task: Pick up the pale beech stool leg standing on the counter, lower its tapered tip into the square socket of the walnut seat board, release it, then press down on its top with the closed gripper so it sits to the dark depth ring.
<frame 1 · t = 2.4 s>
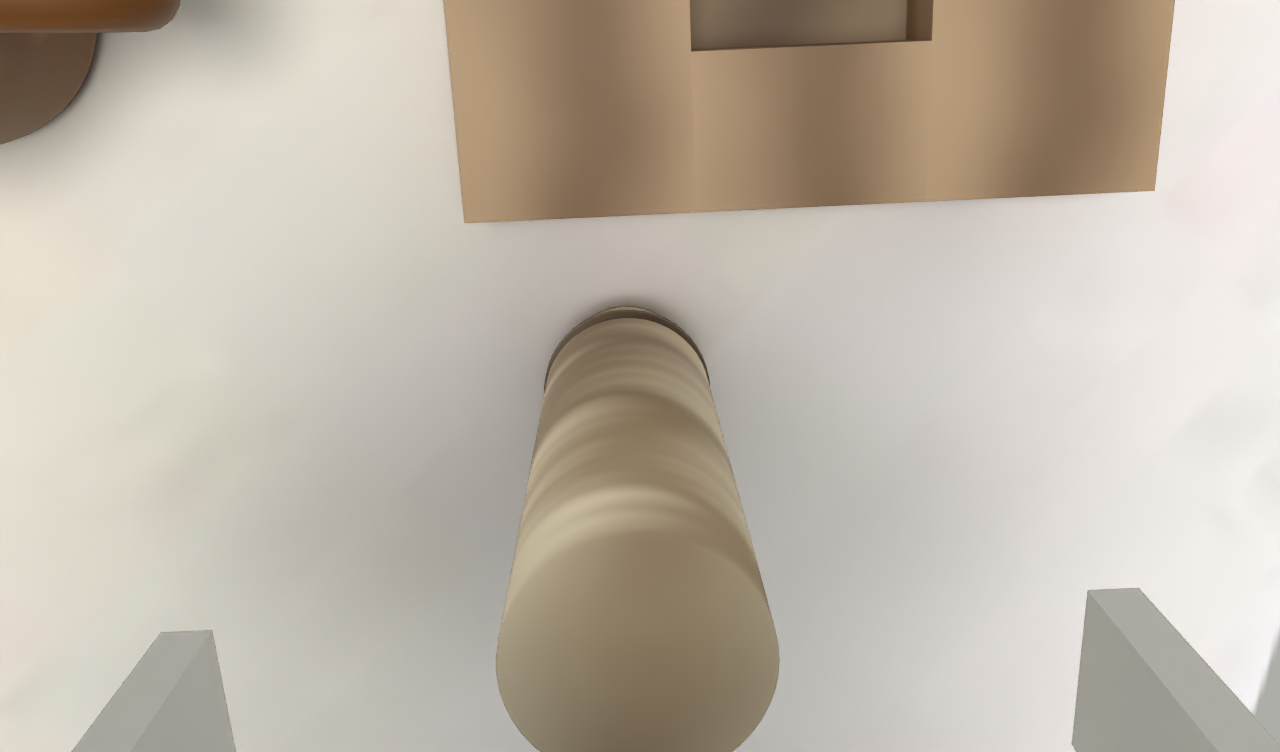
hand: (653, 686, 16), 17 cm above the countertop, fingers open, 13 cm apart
mug: (51, 0, 29), on the countertop
leg: (626, 364, 32), on the countertop
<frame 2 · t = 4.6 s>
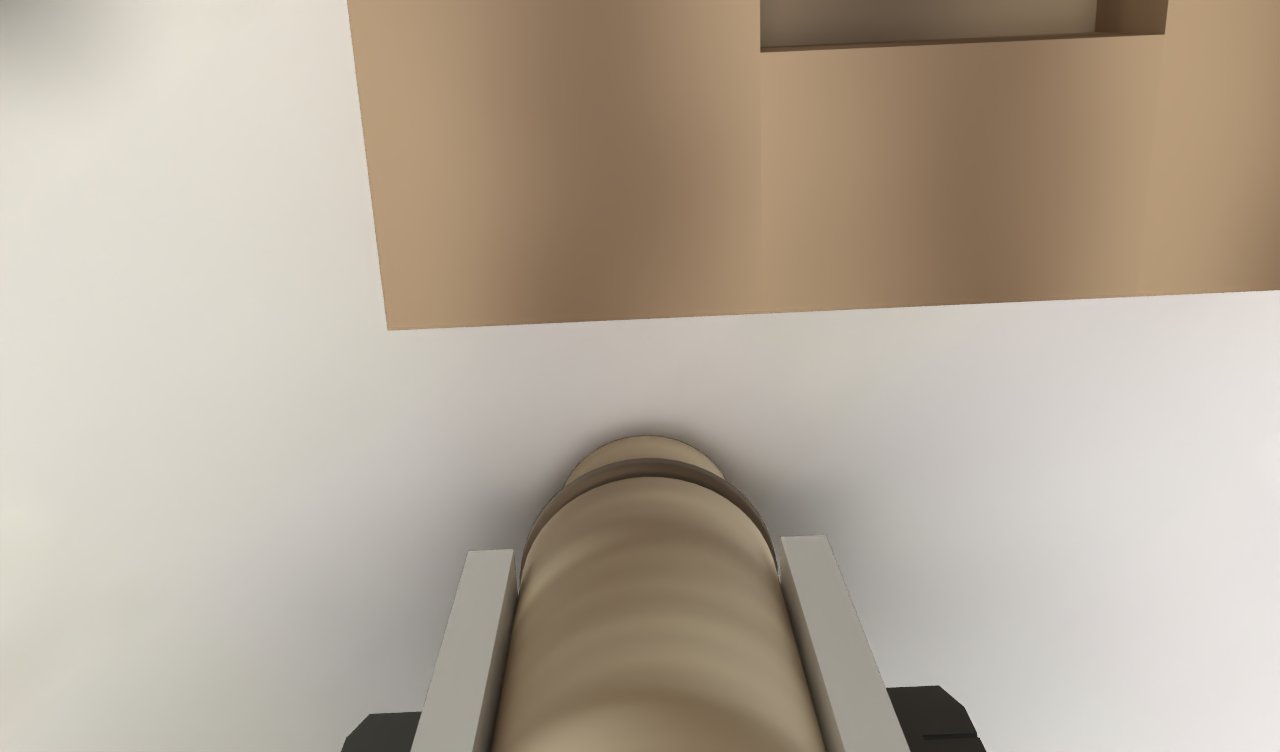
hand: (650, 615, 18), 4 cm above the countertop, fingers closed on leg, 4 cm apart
leg: (646, 518, 22), on the countertop, touching gripper
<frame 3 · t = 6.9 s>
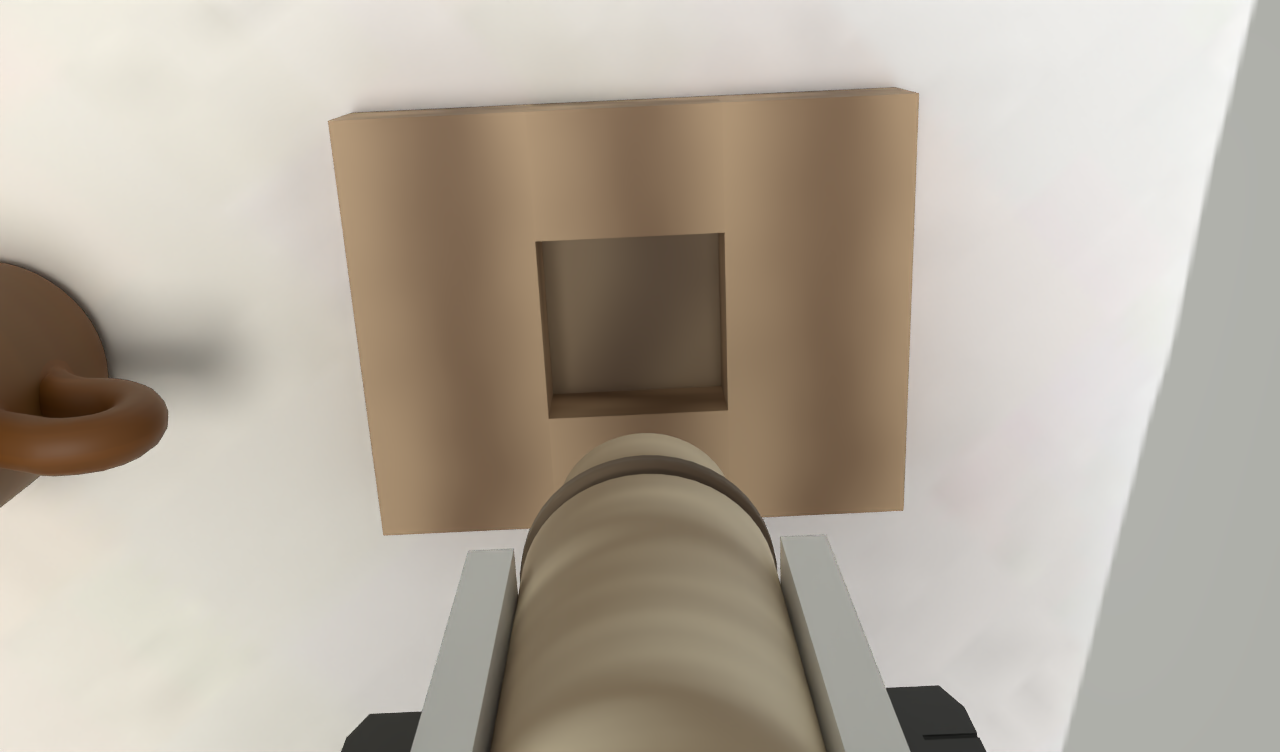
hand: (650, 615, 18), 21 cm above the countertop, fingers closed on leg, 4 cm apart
mug: (73, 356, 38), on the countertop
seat board: (633, 304, 38), on the countertop
leg: (645, 515, 22), point 17 cm above the countertop, touching gripper
when the fingers open (5 cm above the countertop, at t = 9.5 s): leg stays where it is, resting on seat board.
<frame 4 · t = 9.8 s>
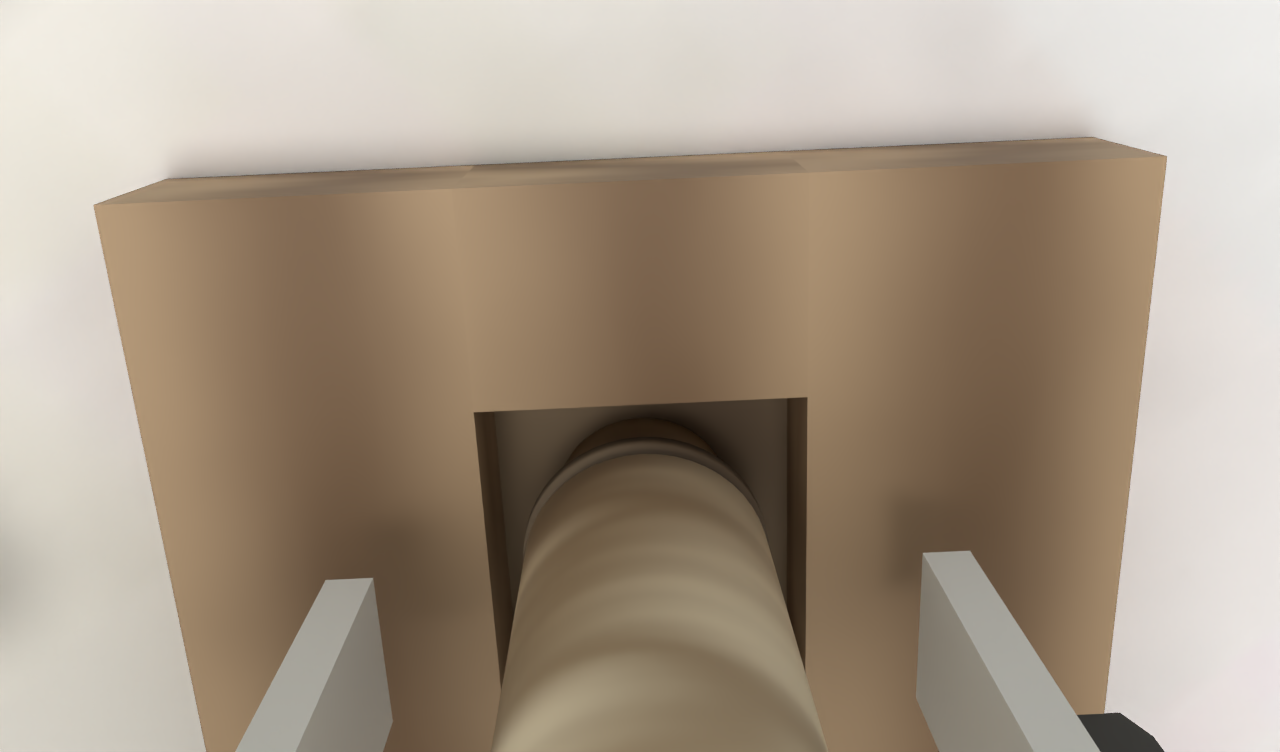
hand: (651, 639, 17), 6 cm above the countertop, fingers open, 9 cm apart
seat board: (644, 487, 23), on the countertop
leg: (643, 498, 22), point 1 cm above the countertop, touching seat board
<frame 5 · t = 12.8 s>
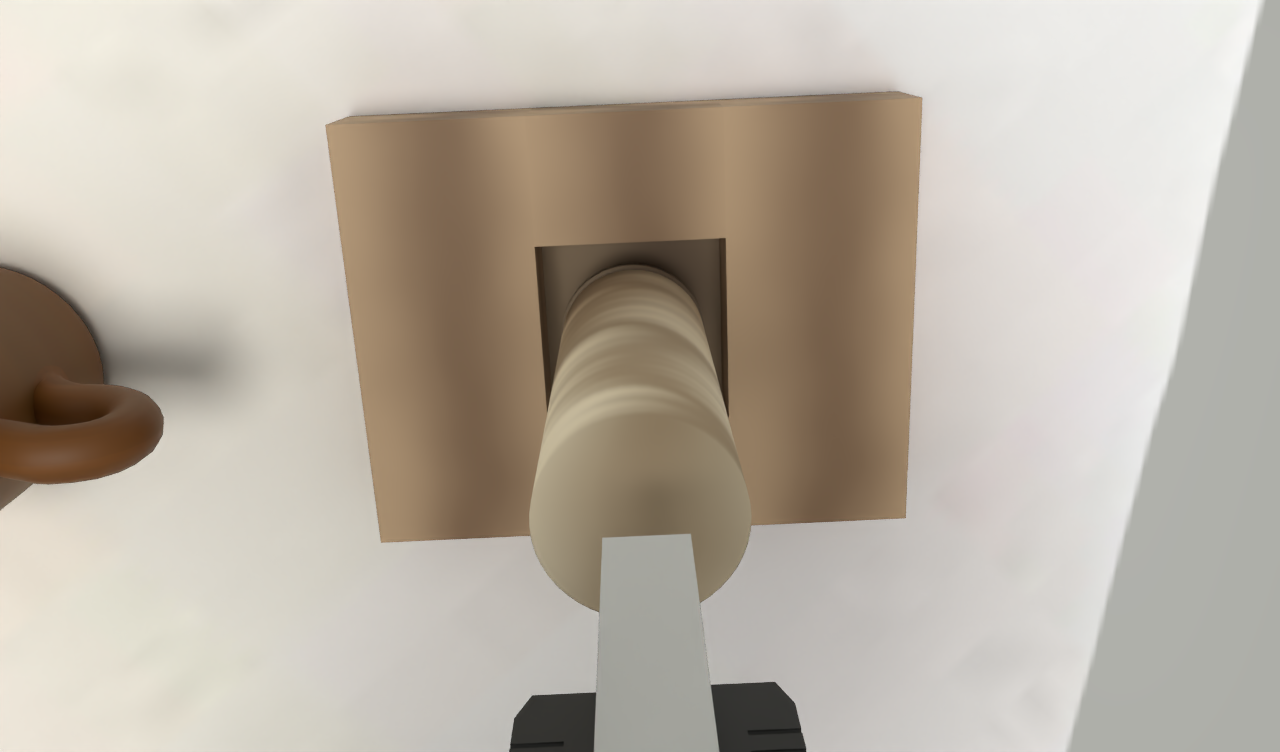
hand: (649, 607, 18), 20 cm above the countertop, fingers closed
mug: (69, 361, 38), on the countertop
seat board: (633, 310, 37), on the countertop
leg: (632, 314, 37), resting on seat board
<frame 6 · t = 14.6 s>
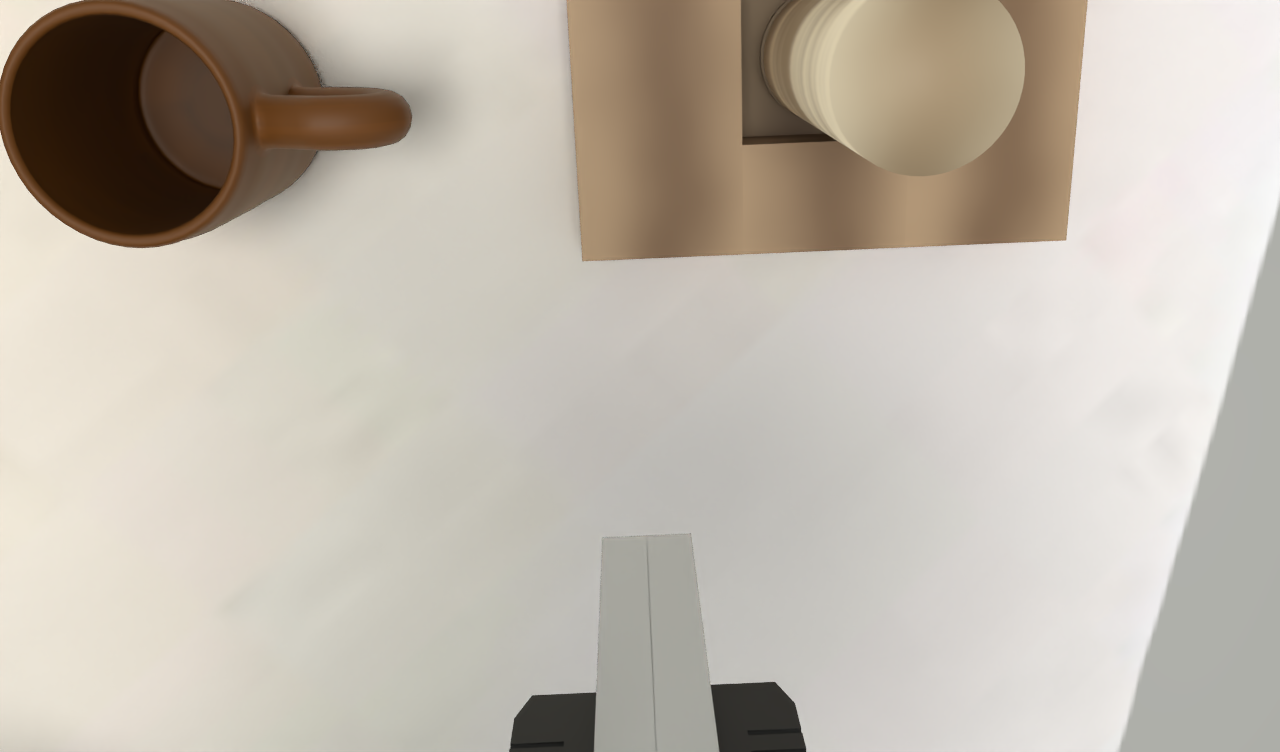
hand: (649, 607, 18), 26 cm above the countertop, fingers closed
mug: (290, 101, 41), on the countertop
seat board: (812, 51, 40), on the countertop
leg: (814, 52, 40), point 1 cm above the countertop, touching seat board
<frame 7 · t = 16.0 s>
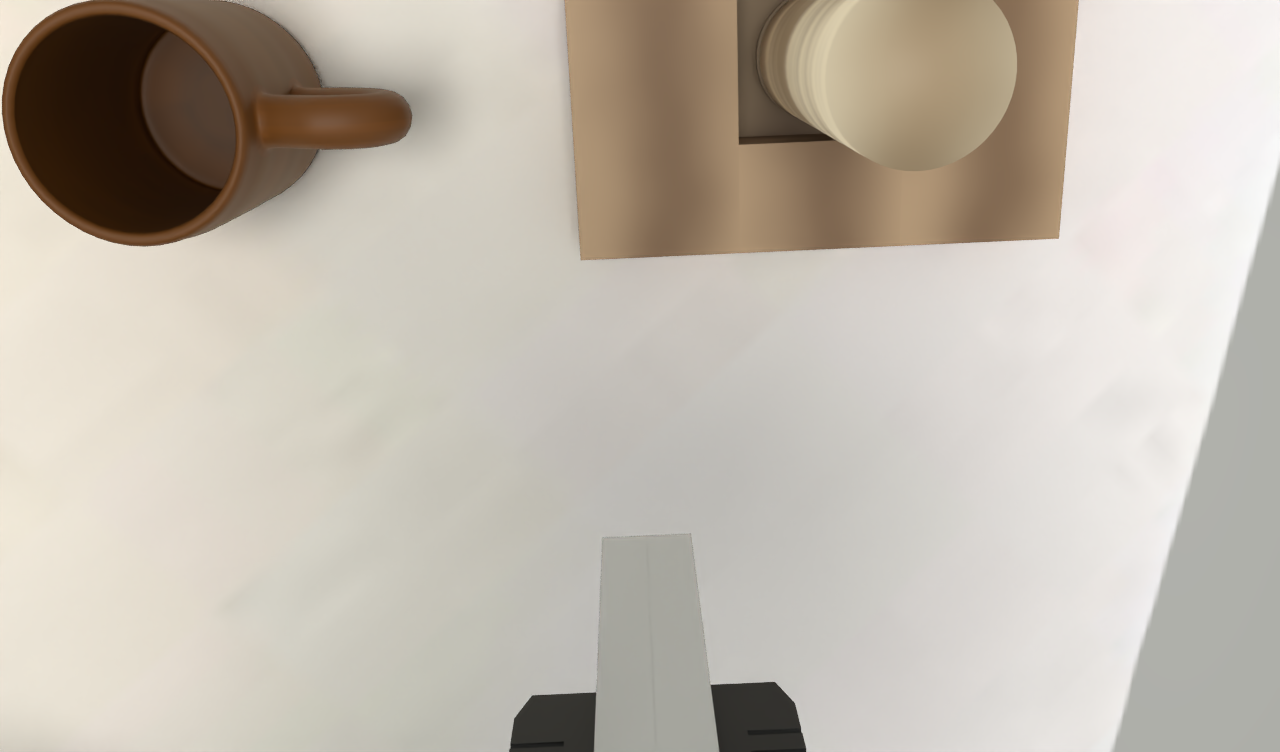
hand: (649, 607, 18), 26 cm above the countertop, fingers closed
mug: (290, 102, 41), on the countertop
seat board: (808, 52, 41), on the countertop
leg: (809, 53, 40), resting on seat board
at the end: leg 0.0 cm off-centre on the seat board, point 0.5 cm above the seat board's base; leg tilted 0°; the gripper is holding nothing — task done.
